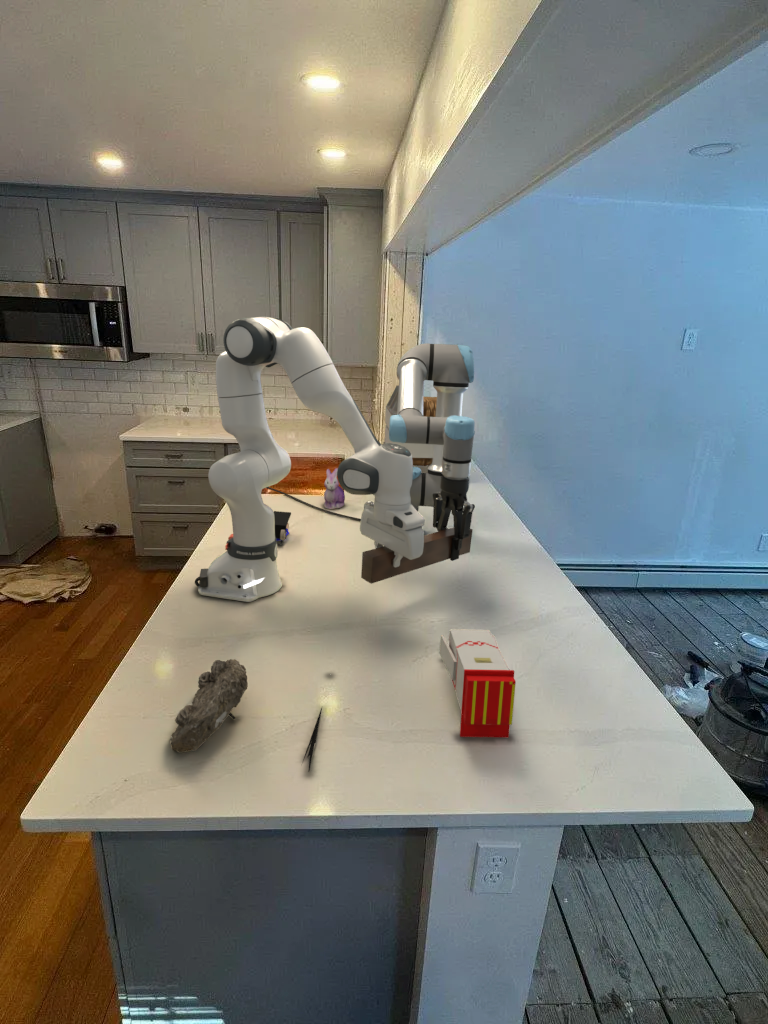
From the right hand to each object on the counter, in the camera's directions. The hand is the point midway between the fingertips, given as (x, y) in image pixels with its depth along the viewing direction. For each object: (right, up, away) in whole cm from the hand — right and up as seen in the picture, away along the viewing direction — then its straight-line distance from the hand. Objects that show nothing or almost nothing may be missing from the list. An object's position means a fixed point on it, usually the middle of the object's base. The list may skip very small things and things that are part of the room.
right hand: (448, 556), depth 158 cm
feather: (-30, -28, -49) cm, 64 cm away
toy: (0, -25, -39) cm, 47 cm away
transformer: (-1, +31, +117) cm, 121 cm away
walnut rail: (-9, -2, -7) cm, 11 cm away
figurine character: (-53, +3, +33) cm, 63 cm away
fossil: (-50, -27, -50) cm, 76 cm away
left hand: (-17, 0, -15) cm, 23 cm away
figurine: (-38, +15, +67) cm, 78 cm away
